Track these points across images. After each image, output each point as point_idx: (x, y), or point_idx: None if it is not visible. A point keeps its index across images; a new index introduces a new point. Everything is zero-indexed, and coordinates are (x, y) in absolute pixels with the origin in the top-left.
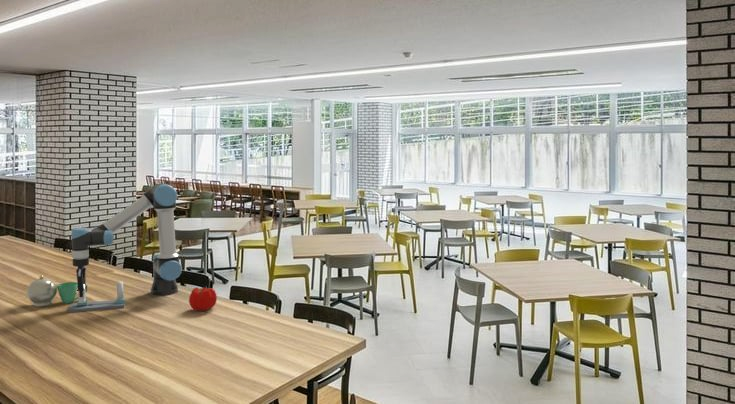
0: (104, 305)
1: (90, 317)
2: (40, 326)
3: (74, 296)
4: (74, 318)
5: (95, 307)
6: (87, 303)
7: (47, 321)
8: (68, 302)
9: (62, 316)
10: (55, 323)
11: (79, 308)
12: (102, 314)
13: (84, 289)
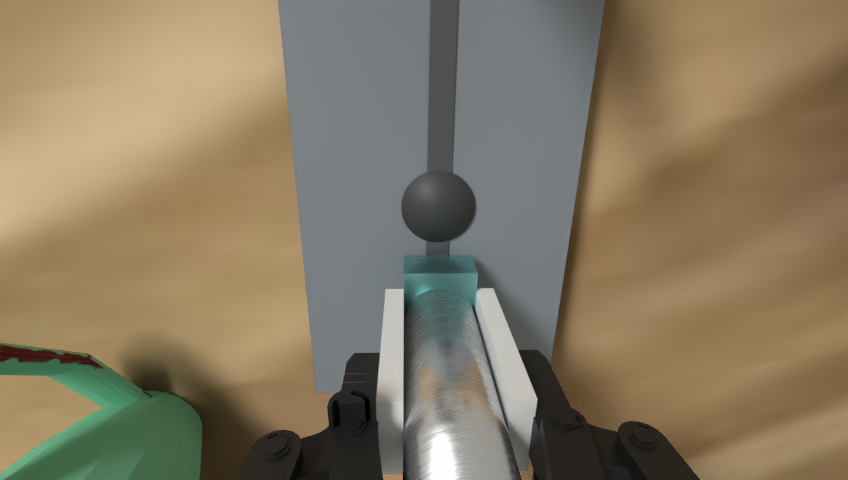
0: (534, 43)
1: (828, 164)
2: (833, 471)
3: (133, 421)
4: (767, 297)
5: (582, 149)
6: (408, 255)
7: (729, 456)
8: (199, 421)
9: (643, 391)
10: (823, 403)
11: (549, 305)
12: (790, 46)
13: (483, 406)
